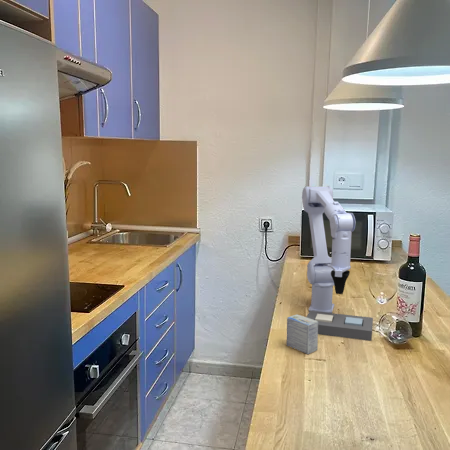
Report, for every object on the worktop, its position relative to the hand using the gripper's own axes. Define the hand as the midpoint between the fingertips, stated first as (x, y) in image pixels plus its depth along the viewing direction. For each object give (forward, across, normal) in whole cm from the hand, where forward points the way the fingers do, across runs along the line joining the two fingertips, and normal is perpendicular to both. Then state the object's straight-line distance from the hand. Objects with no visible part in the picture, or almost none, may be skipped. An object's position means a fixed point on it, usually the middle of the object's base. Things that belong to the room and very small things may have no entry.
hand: (339, 293), depth 148 cm
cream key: (+10, +4, -4) cm, 11 cm away
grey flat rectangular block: (+10, +4, 0) cm, 11 cm away
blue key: (+10, +4, +5) cm, 12 cm away
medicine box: (+11, +22, -8) cm, 26 cm away
